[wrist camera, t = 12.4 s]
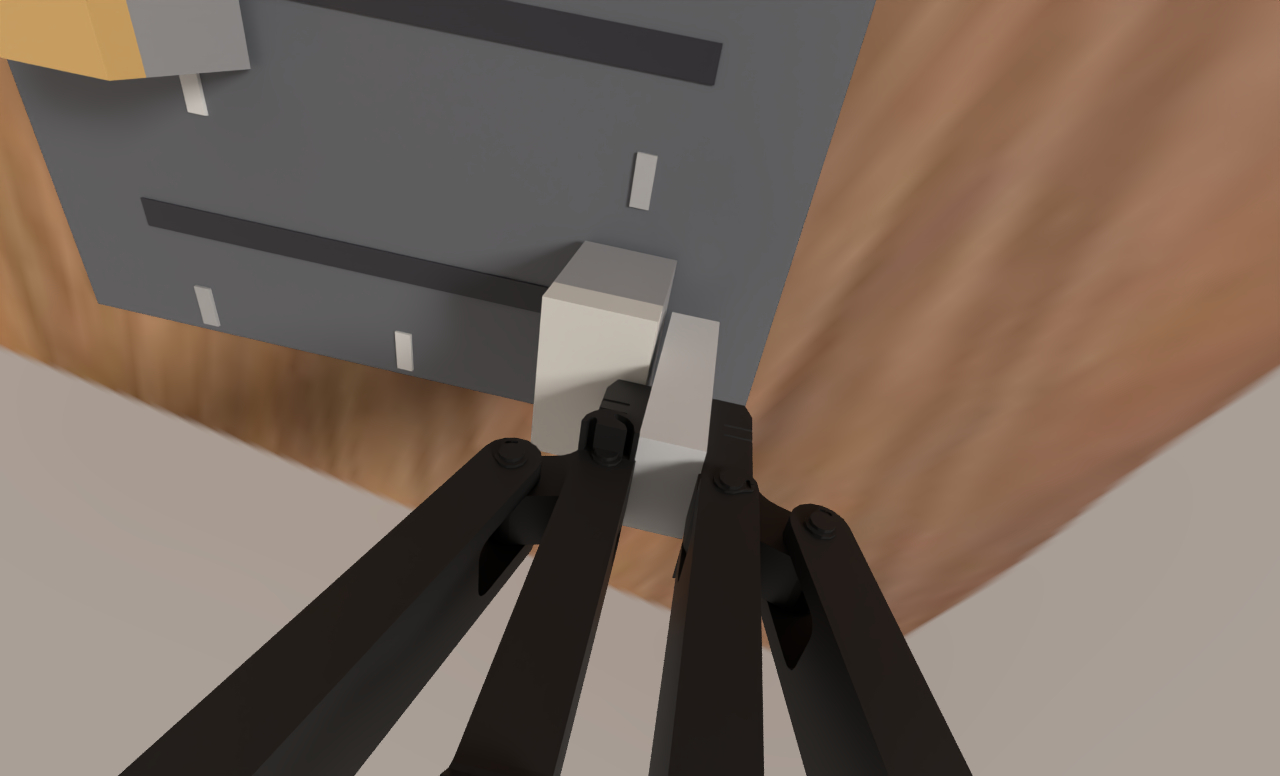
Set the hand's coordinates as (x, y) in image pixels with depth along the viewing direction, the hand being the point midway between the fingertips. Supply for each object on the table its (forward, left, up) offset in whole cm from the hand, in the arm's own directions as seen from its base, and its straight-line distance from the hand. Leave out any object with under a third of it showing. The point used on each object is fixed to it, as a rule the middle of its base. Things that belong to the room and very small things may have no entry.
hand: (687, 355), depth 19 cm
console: (-3, -11, -4) cm, 12 cm away
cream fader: (0, -3, -1) cm, 3 cm away
